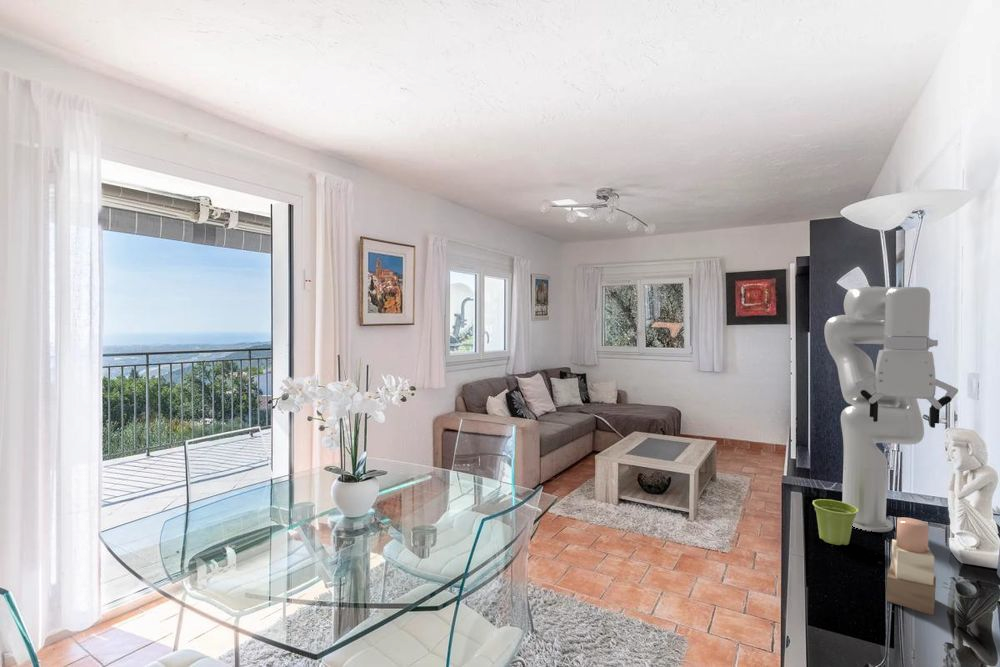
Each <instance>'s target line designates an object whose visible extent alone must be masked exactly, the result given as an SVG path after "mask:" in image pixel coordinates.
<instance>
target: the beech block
mask: <svg viewBox="0 0 1000 667" xmlns="http://www.w3.org/2000/svg"><path fill="white" fill-rule="evenodd" d="M890 558H891V559H890V560H891V562H890V565H891V567H892V569H893V571H894V573H895V576H896V578H898V579H903V580H908V581H913V582H918V583H923V584H928V585H933V582H934V575H935V555H934V554H933V553H932V550H931V548H929V547H928V552H927V553H916V552H911V551H907V550H904V549H902V548H900V547H898V546H897V545H896V539H893V538H892V539H891V557H890Z"/></svg>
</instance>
